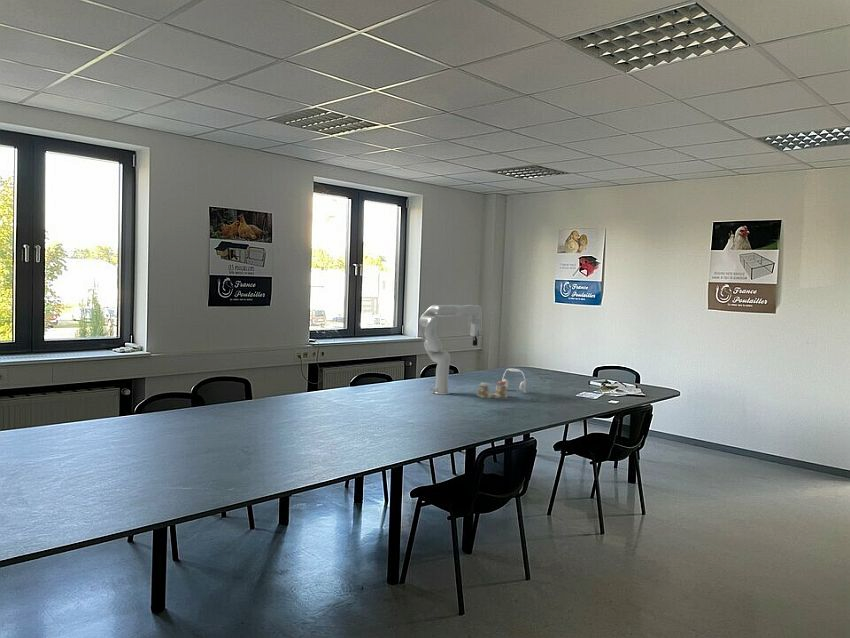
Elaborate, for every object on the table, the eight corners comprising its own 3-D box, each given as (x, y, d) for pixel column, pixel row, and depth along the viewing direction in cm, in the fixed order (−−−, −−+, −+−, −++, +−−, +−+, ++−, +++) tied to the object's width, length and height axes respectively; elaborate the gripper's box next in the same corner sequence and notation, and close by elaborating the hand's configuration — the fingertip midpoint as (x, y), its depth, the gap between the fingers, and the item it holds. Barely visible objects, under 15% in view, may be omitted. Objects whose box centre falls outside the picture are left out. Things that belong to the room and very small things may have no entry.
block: (482, 398, 459) (482, 387, 458) (477, 395, 468) (477, 385, 468) (507, 397, 464) (508, 387, 464) (502, 395, 474) (502, 385, 473)
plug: (481, 394, 461) (482, 383, 460) (478, 393, 466) (479, 382, 465) (488, 394, 462) (488, 383, 462) (485, 393, 467) (486, 382, 467)
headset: (500, 390, 496) (501, 367, 495) (504, 389, 502) (505, 366, 501) (522, 393, 484) (523, 370, 483) (527, 392, 490) (528, 369, 489)
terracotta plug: (499, 392, 465) (499, 382, 464) (496, 391, 470) (497, 380, 469) (506, 392, 466) (506, 382, 466) (503, 391, 471) (503, 380, 471)
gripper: (467, 320, 491) (466, 344, 492) (474, 322, 476) (473, 346, 477) (477, 321, 493) (475, 344, 494) (484, 322, 478) (483, 346, 479)
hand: (474, 345), depth 486 cm, fingers closed
